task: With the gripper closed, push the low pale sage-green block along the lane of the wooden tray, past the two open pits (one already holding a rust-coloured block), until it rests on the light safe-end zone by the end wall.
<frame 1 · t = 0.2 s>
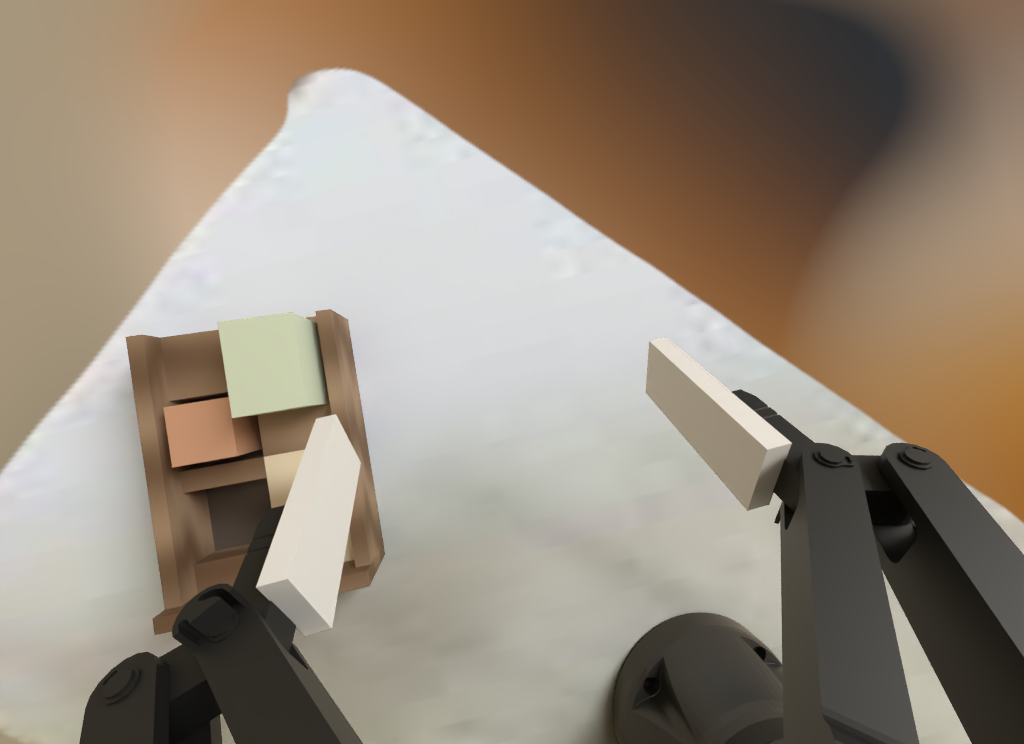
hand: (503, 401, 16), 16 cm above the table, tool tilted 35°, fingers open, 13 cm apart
rust block: (236, 426, 29), resting on wooden tray
wooden tray: (280, 451, 30), on the table
sage block: (291, 368, 28), point 2 cm above the table, touching wooden tray
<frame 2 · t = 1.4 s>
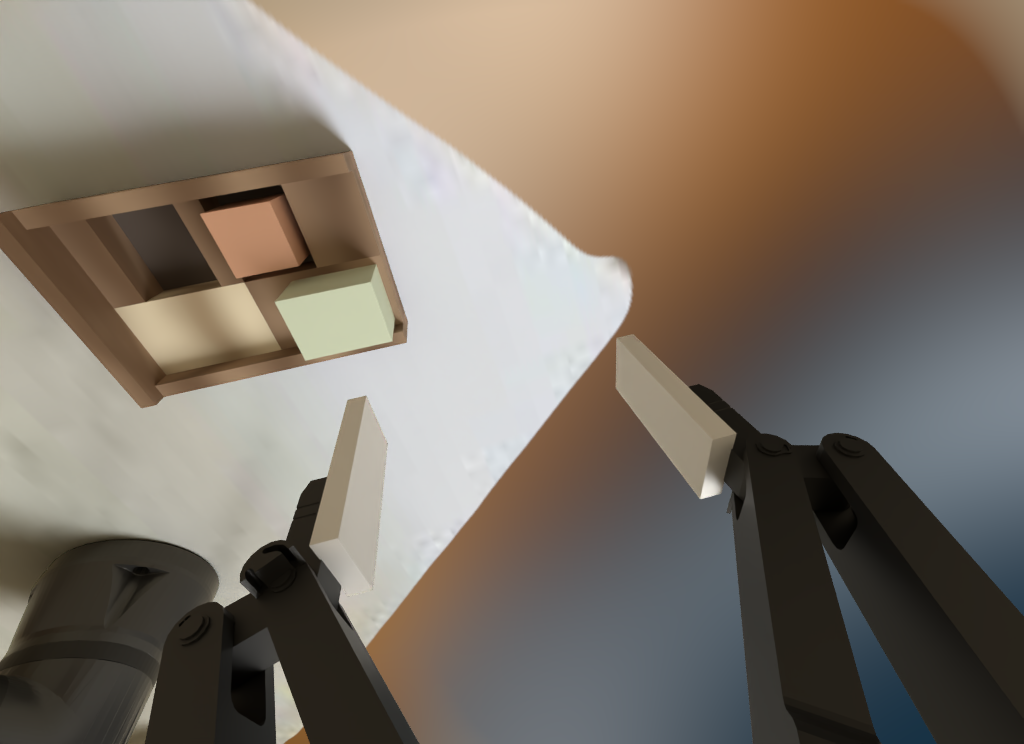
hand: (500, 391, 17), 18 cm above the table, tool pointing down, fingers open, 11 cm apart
rust block: (272, 227, 27), resting on wooden tray
wooden tray: (256, 271, 29), on the table
sage block: (346, 300, 29), point 2 cm above the table, touching wooden tray
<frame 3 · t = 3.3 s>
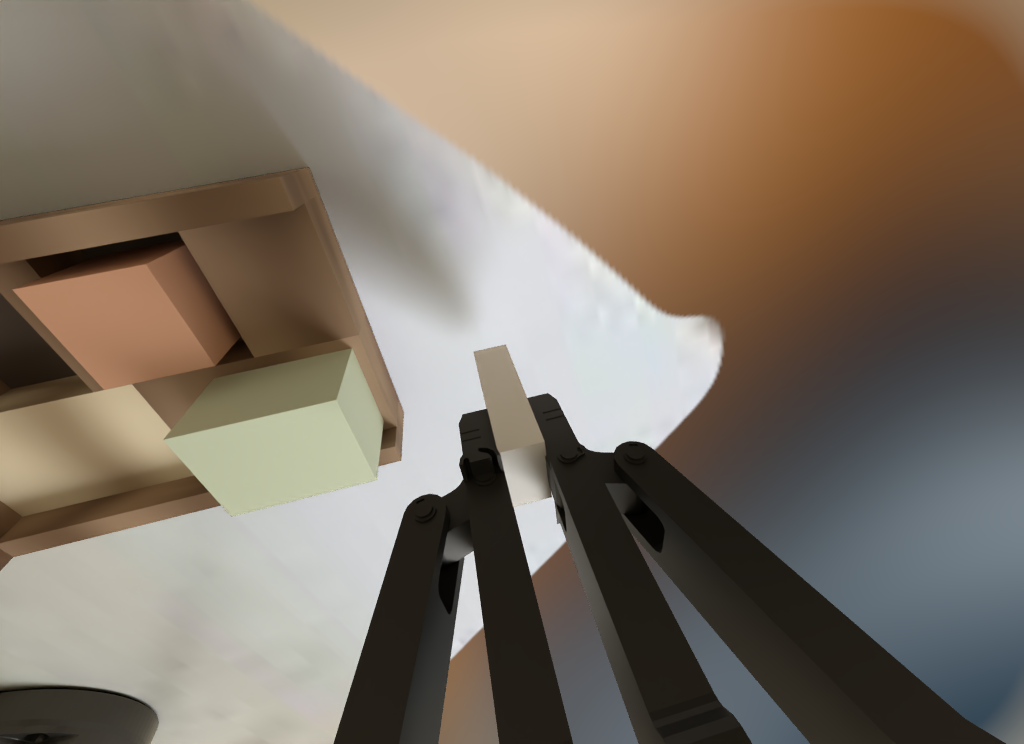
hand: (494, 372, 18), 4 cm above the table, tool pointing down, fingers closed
rust block: (181, 291, 17), resting on wooden tray
wooden tray: (164, 355, 18), on the table
sage block: (305, 401, 18), point 2 cm above the table, touching wooden tray
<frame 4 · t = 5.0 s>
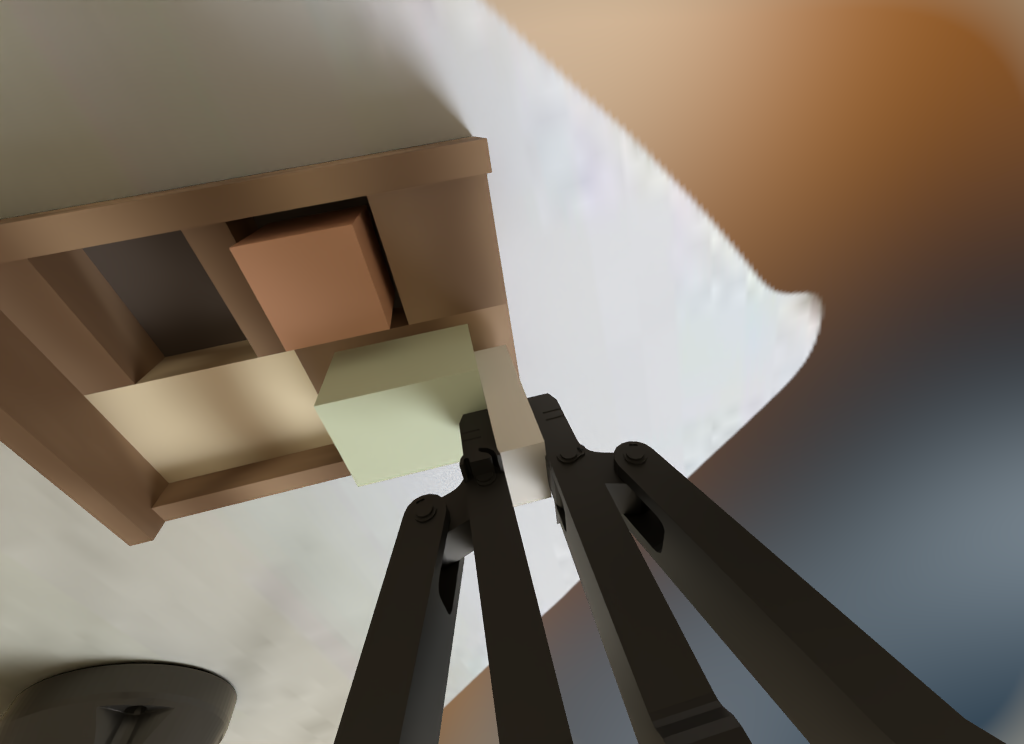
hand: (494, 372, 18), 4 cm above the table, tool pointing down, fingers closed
rust block: (336, 260, 17), resting on wooden tray
wooden tray: (308, 325, 19), on the table
sage block: (415, 377, 18), point 2 cm above the table, touching wooden tray
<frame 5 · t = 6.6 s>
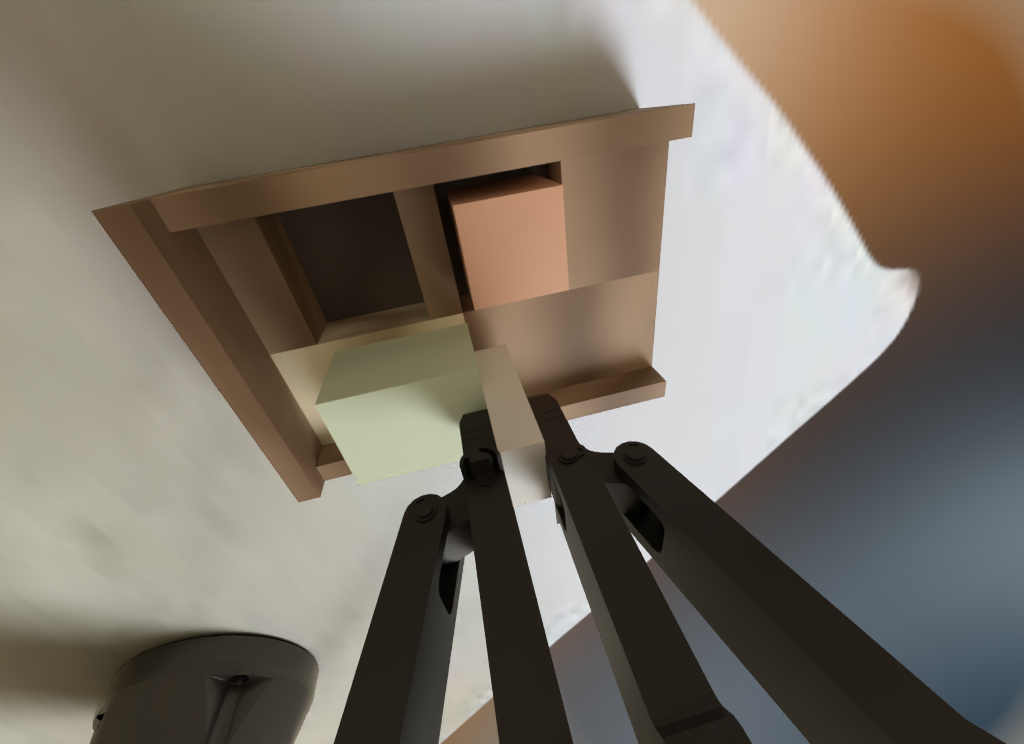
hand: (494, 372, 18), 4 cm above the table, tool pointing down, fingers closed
rust block: (498, 229, 18), resting on wooden tray
wooden tray: (458, 293, 19), on the table
sage block: (415, 376, 19), point 3 cm above the table, touching gripper
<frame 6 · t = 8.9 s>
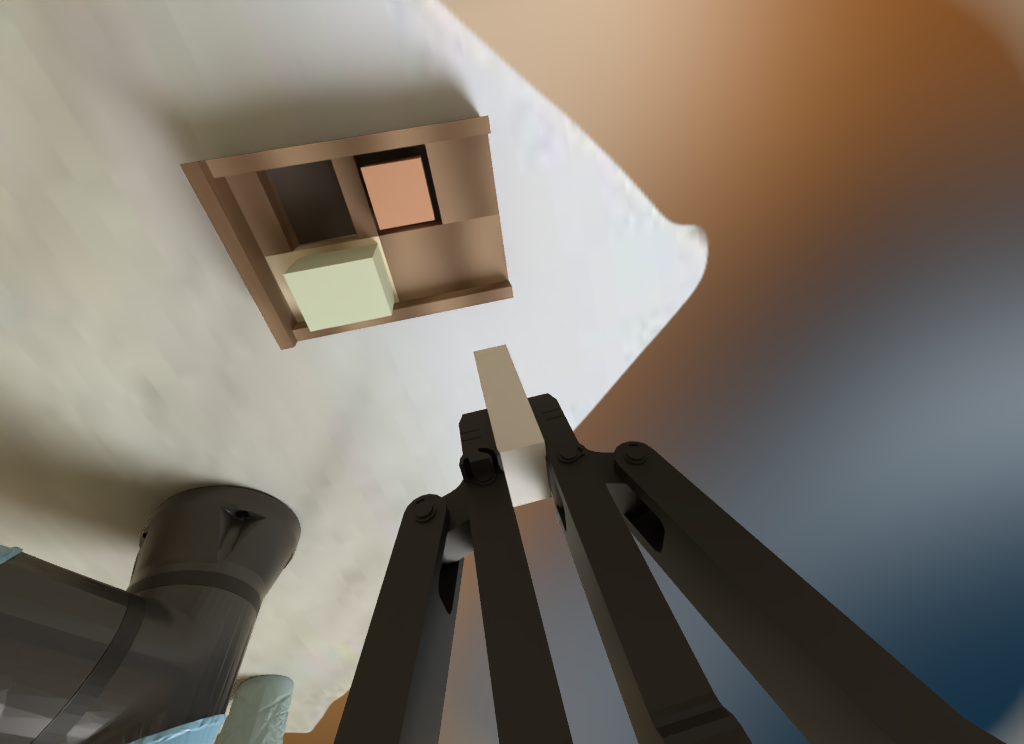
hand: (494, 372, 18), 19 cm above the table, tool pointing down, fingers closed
rust block: (401, 187, 30), resting on wooden tray
grey-blue cup: (265, 685, 67), on the table
wooden tray: (381, 229, 31), on the table
sage block: (349, 277, 31), point 2 cm above the table, touching wooden tray
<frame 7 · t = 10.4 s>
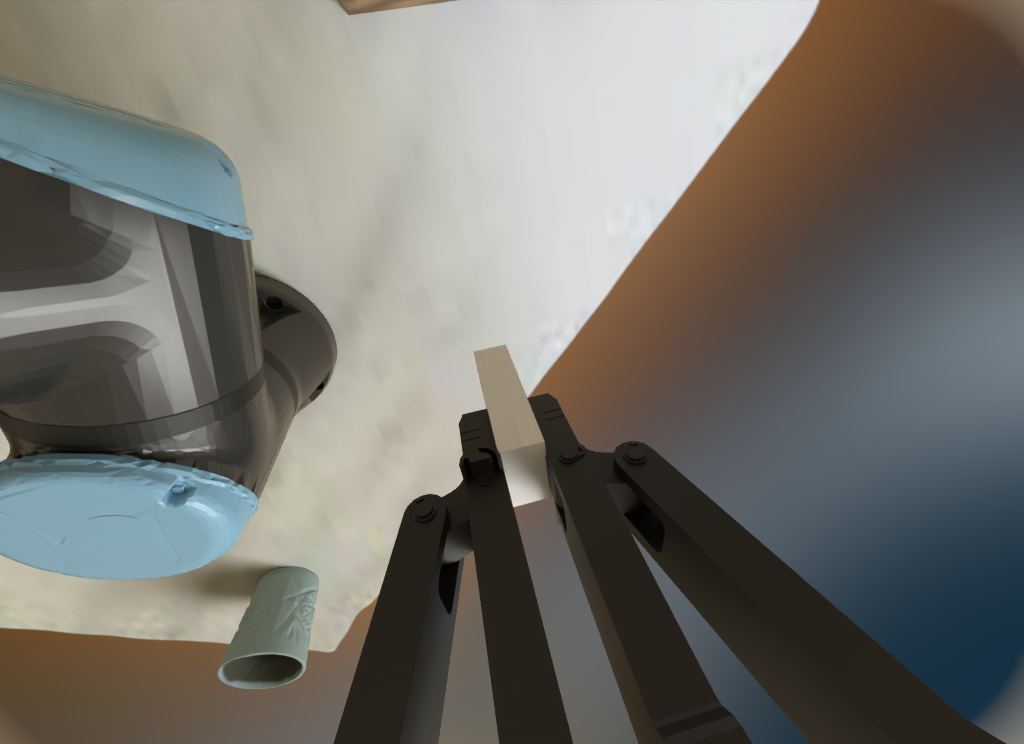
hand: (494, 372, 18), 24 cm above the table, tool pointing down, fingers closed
grey-blue cup: (288, 582, 60), on the table
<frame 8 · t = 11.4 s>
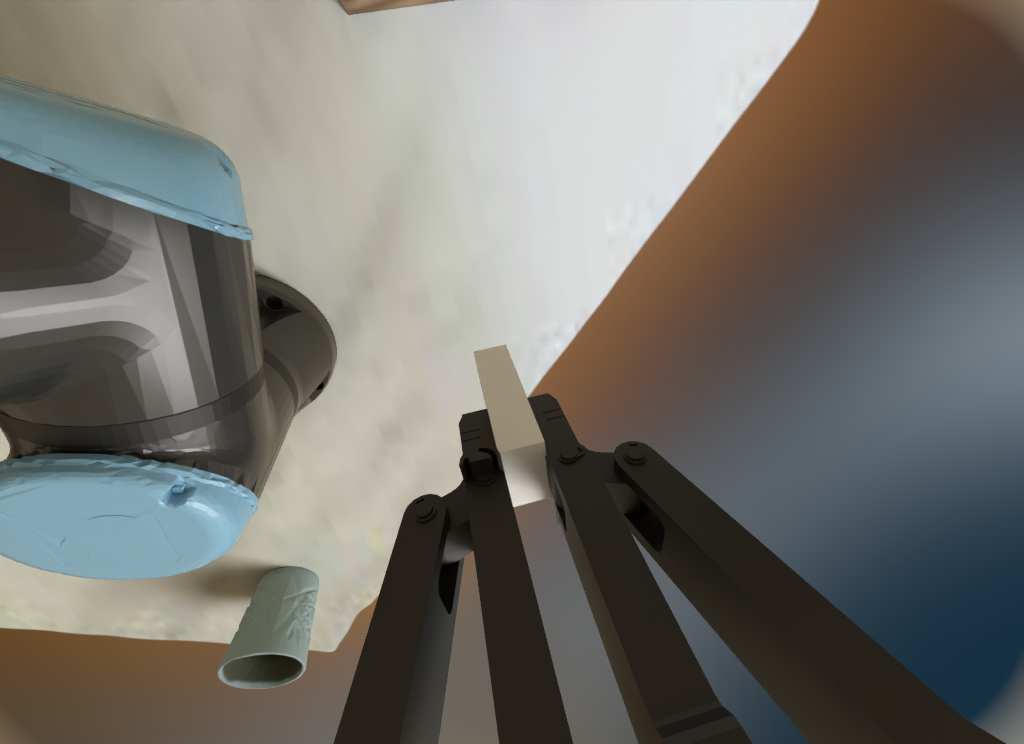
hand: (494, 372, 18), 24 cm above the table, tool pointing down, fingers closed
grey-blue cup: (288, 582, 60), on the table
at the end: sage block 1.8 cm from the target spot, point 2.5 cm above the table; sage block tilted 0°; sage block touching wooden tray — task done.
